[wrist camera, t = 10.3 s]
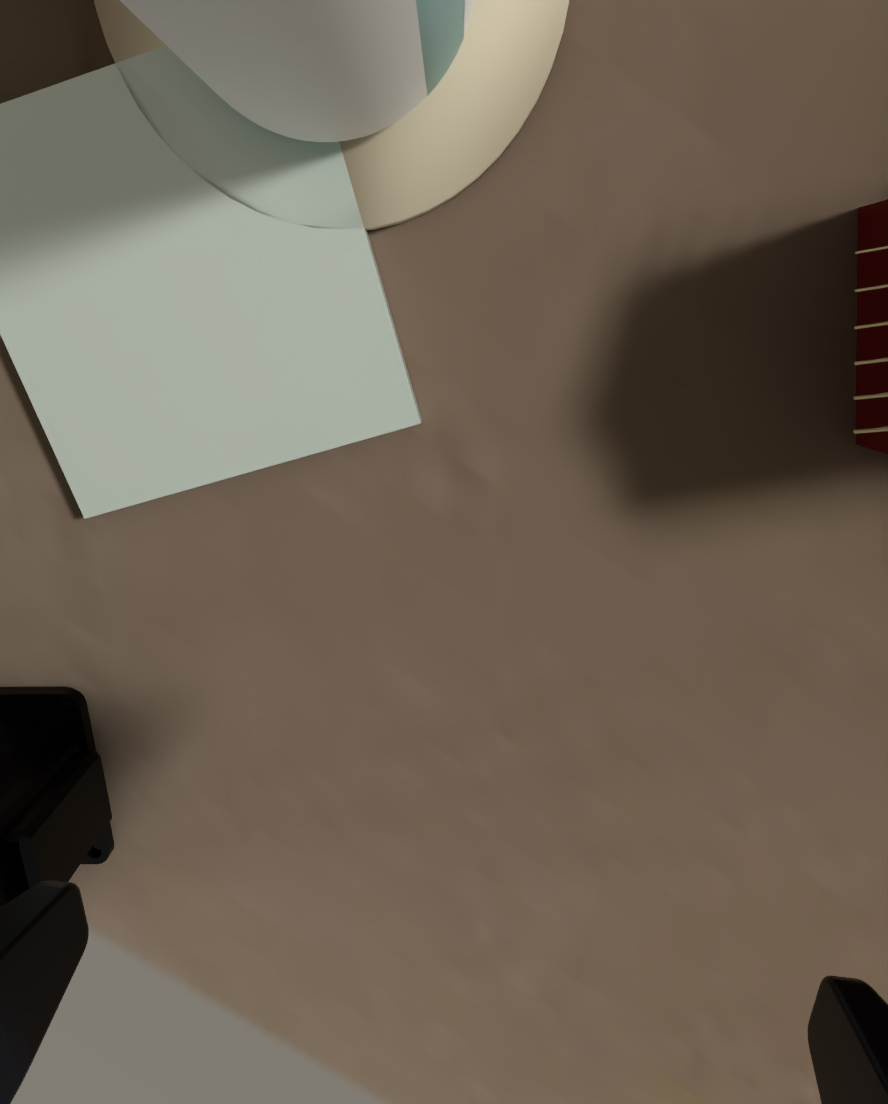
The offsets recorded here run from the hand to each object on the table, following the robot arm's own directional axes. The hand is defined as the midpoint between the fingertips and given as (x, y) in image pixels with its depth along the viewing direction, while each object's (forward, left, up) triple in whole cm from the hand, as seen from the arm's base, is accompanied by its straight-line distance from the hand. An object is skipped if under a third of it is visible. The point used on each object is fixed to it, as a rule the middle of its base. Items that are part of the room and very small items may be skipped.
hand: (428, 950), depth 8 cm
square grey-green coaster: (-7, +8, -13) cm, 17 cm away
